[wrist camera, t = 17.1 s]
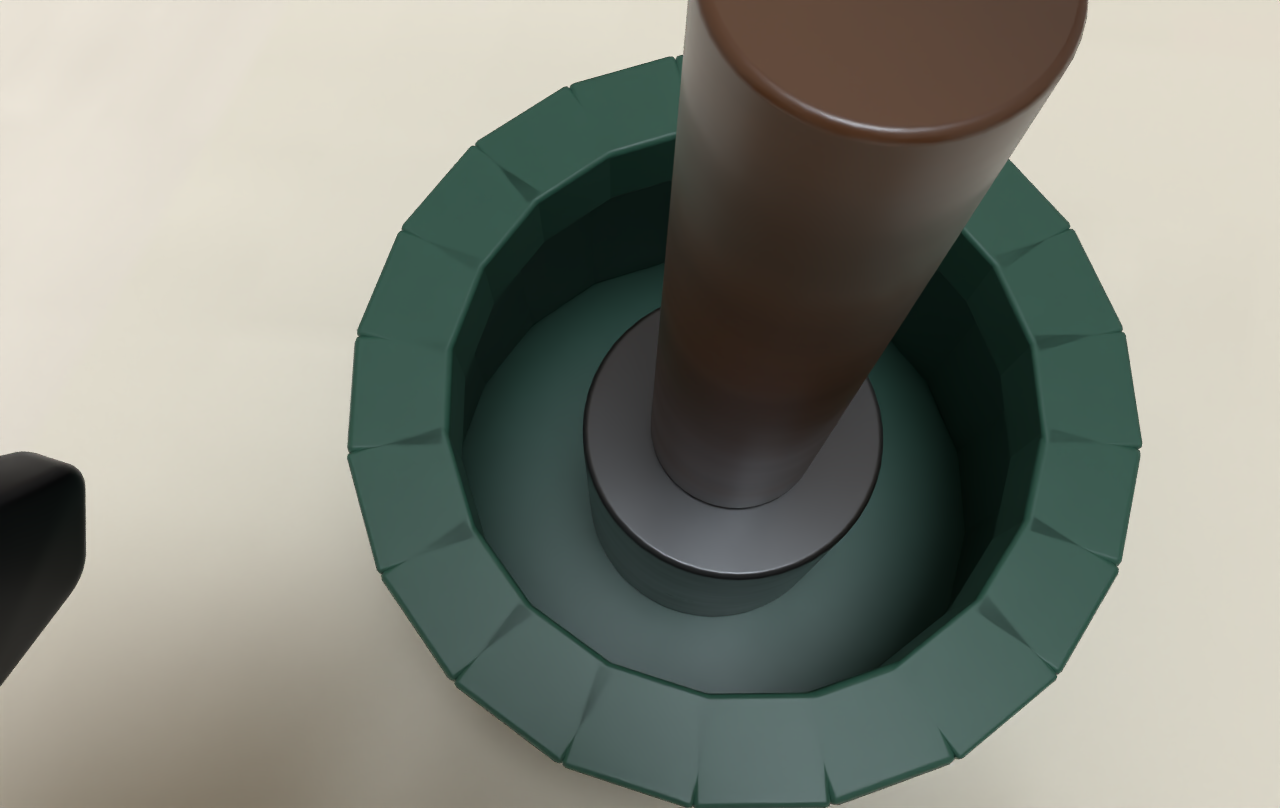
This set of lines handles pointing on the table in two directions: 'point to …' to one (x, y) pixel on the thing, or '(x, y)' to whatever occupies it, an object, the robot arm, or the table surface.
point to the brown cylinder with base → (797, 273)
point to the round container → (830, 591)
